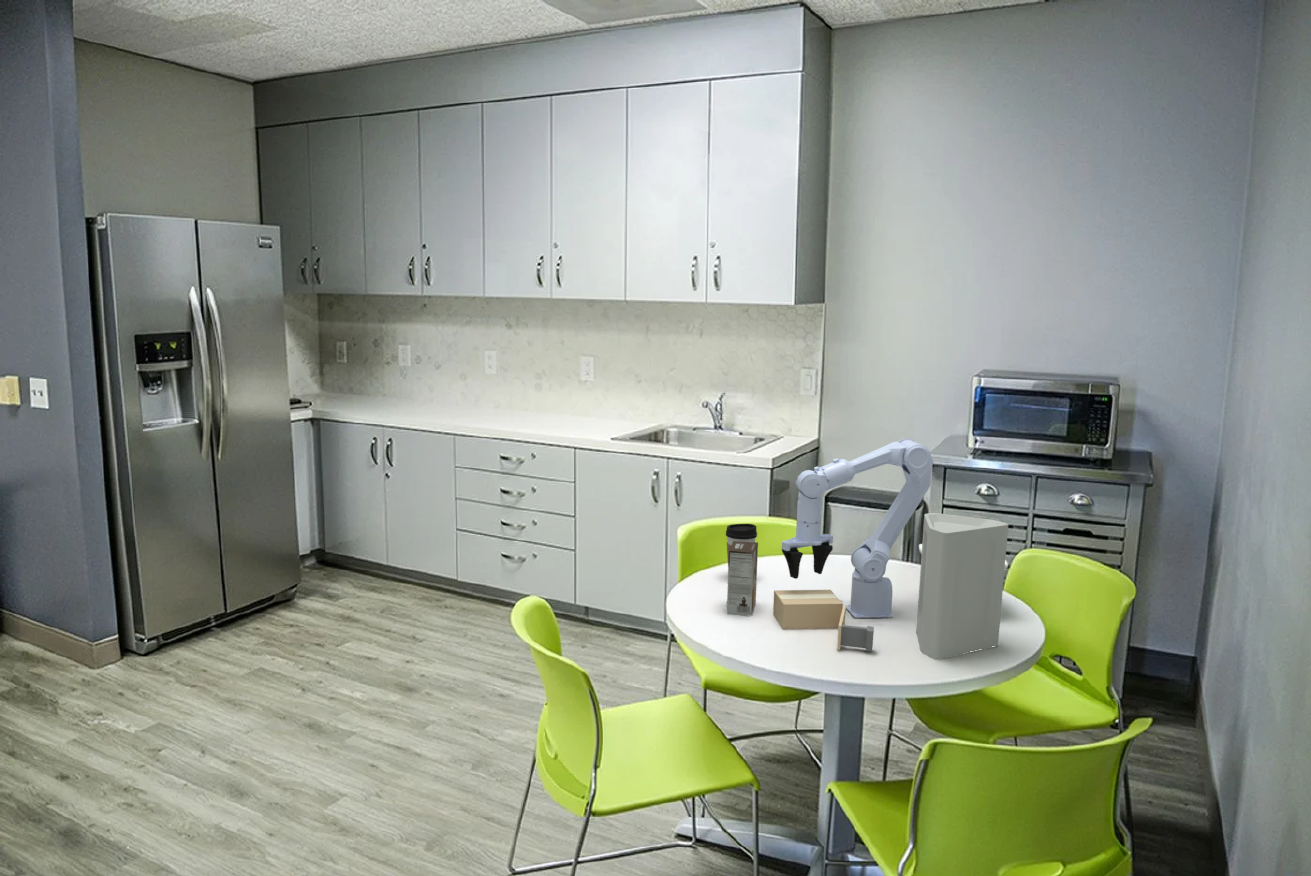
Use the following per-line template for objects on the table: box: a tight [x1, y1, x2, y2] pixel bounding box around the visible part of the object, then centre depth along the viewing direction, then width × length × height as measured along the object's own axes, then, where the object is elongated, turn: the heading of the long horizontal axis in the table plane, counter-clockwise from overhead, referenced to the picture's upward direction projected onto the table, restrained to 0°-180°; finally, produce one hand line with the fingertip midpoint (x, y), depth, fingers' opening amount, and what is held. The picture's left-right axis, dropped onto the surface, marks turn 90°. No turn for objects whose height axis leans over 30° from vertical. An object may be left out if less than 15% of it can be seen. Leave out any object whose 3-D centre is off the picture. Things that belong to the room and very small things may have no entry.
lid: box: [836, 604, 875, 652], centre depth 208 cm, size 14×7×6 cm, turn 164°
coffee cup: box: [725, 523, 758, 562], centre depth 250 cm, size 8×8×15 cm
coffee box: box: [726, 541, 759, 617], centre depth 227 cm, size 9×6×16 cm
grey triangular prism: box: [915, 512, 1009, 660], centre depth 207 cm, size 19×15×28 cm
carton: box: [772, 589, 844, 630], centre depth 220 cm, size 14×10×6 cm
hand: (806, 575), depth 225 cm, fingers open, 7 cm apart
